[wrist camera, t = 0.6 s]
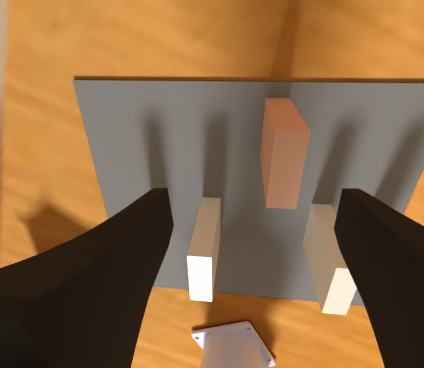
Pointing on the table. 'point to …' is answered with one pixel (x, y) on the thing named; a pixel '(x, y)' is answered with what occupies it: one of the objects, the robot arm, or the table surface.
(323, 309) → the domino
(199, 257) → the domino
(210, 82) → the felt mat
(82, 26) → the table surface
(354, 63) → the table surface
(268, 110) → the domino
